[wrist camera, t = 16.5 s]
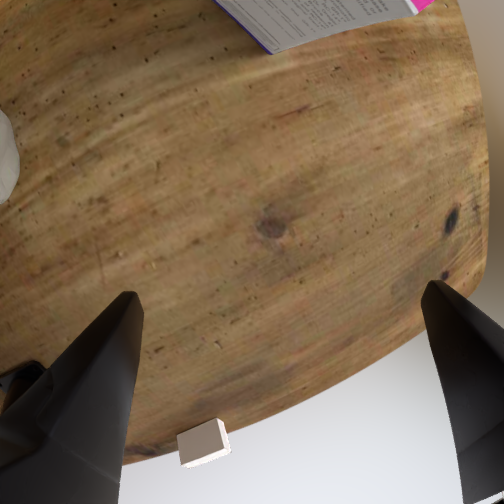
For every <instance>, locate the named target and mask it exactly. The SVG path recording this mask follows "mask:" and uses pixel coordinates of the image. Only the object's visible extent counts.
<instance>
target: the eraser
mask: <svg viewBox="0 0 504 504" xmlns="http://www.w3.org/2000/svg"><path fill="white" fill-rule="evenodd" d="M177 442H178V449H179V455H180V461H181V465H182V466H184V467H186V468H188V469H190V468H193V467H195V466H198V465H201V464H203V463H206V462H209V461H211V460H213V459H216V458H219V457H221V456H223V455H226V454H229V453H231V449H230V445H229V442H228V438H227V434H226V430H225V427H224V423H223V422H222V421H221V420H220V419H218V418H217V417H216V418H214V419H212V420H210V421H208V422H206V423H203V424H201V425H199V426H197V427H194V428H192V429H190V430H187V431H185V432H183V433H180V434H178V435H177Z"/></svg>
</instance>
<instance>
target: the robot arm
mask: <svg viewBox="0 0 504 504" xmlns="http://www.w3.org/2000/svg"><path fill="white" fill-rule="evenodd" d="M421 308H422V312H423V316H424V321H425V325H426V330H427V334H428V339H429V342H430V347H431V351H432V354H433V357H434V361H435V364H436V368H437V371H438V375H439V378H440V382H441V386H442V389H443V393H444V397H445V401H446V405H447V410H448V414H449V418H450V423H451V427H452V432H453V437H454V442H455V448H456V453H457V460H458V466H459V472H460V479H461V486H462V495H463V503H464V504H474V503H476V502H479V501H481V500H484V499H486V498H488V497H491V496H493V495H495V494H498V493H500V492H502V494H503V498H501V499H499V500H497V501H496V502H494V503H492V504H504V329H503V328H502V327H501V326H500V325H498V324H497V323H496V322H495V321H494V320H492V319H491V318H490V317H489V316H487V315H486V314H485V313H484V312H482V311H481V310H480V309H479V308H477V307H476V306H475V305H473V304H472V303H471V302H470V301H468V300H467V299H466V298H464V297H463V296H462V295H461V294H459V293H458V292H457V291H455V290H454V289H453V288H451V287H450V286H449V285H447V284H446V283H445V282H443V281H442V280H431V281H429V282H428V284H427V287H426V289H425V291H424V294H423V296H422V298H421ZM143 320H144V312H143V308H142V306H141V303H140V300H139V297H138V295H137V293H136V292H134V291H124V292H122V293H121V294H120V295H119V296H118V297H117V298H116V299H115V300H114V301H113V302H112V303H111V304H110V305H109V306H108V307H107V308H106V309H105V310H104V311H103V312H102V313H101V314H100V315H99V316H98V317H97V318H96V319H95V320H94V321H93V322H92V323H91V324H90V325H89V326H88V327H87V328H86V329H85V330H84V331H83V332H82V333H81V334H80V335H79V336H78V337H77V338H76V339H75V340H74V341H73V342H72V343H71V344H70V345H69V347H68V348H67V349H66V350H65V351H64V352H63V353H62V354H61V355H60V356H59V357H58V358H57V359H56V360H55V361H54V363H53V364H52V365H51V366H50V368H48V369H46V368H45V367H44V366H43V365H42V364H41V363H39V362H38V361H31V362H29V363H27V364H25V365H23V366H21V367H19V368H17V369H15V370H13V371H10V372H8V373H6V374H4V375H2V376H0V389H1V390H2V391H3V392H4V393H6V397H5V400H4V403H3V407H2V410H1V414H0V504H118V496H119V487H120V483H119V482H120V478H121V469H122V462H123V454H124V447H125V440H126V434H127V427H128V421H129V415H130V409H131V403H132V398H133V392H134V387H135V382H136V376H137V371H138V366H139V360H140V350H141V339H142V329H143ZM35 366H36V367H35Z"/></svg>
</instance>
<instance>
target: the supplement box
mask: <svg viewBox="0 0 504 504" xmlns="http://www.w3.org/2000/svg"><path fill="white" fill-rule="evenodd" d="M212 1H213V2H214V3H215V4H216V5H218V6H219V7H220V8H221V9H222V10H223V11H225V12H226V13H227V14H228V15H229V16H230V17H231V18H232V19H233V20H235V21H236V22H237V23H238V24H239V25H240V26H241V27H242V28H243V29H244V30H245V31H246V32H247V33H248V34H249V35H250V36H251V37H252V38H253V39H254V40H255V41H256V42H257V43H258V44H259V45H260V46H261V47H262V48H263V49H264V50H265V51H266V52H267V53H268V54H270V55H273V54H276V53H279V52H281V51H284V50H287V49H290V48H293V47H295V46H298V45H301V44H304V43H307V42H310V41H313V40H317V39H320V38H323V37H327V36H330V35H333V34H336V33H340V32H344V31H347V30H351V29H355V28H359V27H363V26H367V25H371V24H375V23H379V22H385V21H389V20H394V19H399V18H405V17H411V16H415V15H417V14H418V13H419V12H420V11H421V10H423V9H424V8H425V7H427V6H428V5H429V4H430V3H432V2H433V1H434V0H212Z"/></svg>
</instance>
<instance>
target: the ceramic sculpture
mask: <svg viewBox="0 0 504 504" xmlns="http://www.w3.org/2000/svg"><path fill="white" fill-rule="evenodd" d="M19 173H20V157H19V154H18V150H17V147H16V143H15V139H14V133H13V129H12V125H11V122H10V120H9V119H8V117H7V116H6V115H5V114H4V113H3V112H2V110H1V109H0V204H3V203H4V202H5V201H6V200H7V199H8V198H9V196H10V194H11V193H12V191H13V189H14V187H15V185H16V182H17V180H18V177H19Z"/></svg>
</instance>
